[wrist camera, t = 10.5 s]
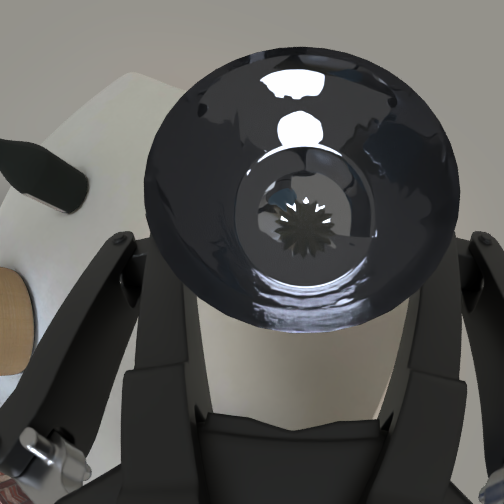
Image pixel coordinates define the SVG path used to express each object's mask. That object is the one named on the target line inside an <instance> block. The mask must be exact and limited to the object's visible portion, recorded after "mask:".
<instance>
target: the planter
mask: <svg viewBox="0 0 504 504" xmlns="http://www.w3.org/2000/svg"><path fill="white" fill-rule="evenodd" d="M33 342H34V317H33V310H32V305H31V300H30V297H29V294H28V291H27V288H26V286H25V284H24V282H23V280H22V278H21V277H20V276H19V275H18V274H17V273H16V272H15V271H13V270H10V269H7V268H3V267H0V376H5V375H14V374H18V373H20V372H22V371H23V370H24V369H25V368H26V366H27V364H28V363H29V360H30V357H31V354H32V349H33Z"/></svg>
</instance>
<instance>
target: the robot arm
mask: <svg viewBox="0 0 504 504" xmlns="http://www.w3.org/2000/svg"><path fill="white" fill-rule="evenodd" d="M145 215H146V218H147V214H145ZM147 222H148V219H147ZM148 225H149V223H148ZM149 229H150V227H149ZM150 232H151V231H150ZM120 282H121V284H120ZM483 286H484V287H483ZM138 316H139V317H138ZM462 316H463V319H464V323H465V327H466V331H467V334H468V338H469V342H470V346H471V352H472V356H473V360H474V366H475V371H476V377H477V383H478V389H479V397H480V404H481V413H482V424H483V439H484V453H485V462H486V469H487V474H488V478H489V479H488V481H487V483H486V485H485V486H484V487H483V488H482V489H481V491H480V492H479V497H478V498H479V501H480V502H481V503H482V504H504V251H503V249H502V248H501V246H500V245H499V243H498V242H497V240H496V239H495V238H494V237H492V236H491V235H490V234H489V233H488V234H487V233H486V232H481V231H475V232H473V234H472V236H471V239H470V241H468V240H464V239H460V238H456V235H455V232H454V233H453V236H452V239H451V243H450V245H449V247H448V249H447V251H446V253H445V254H444V256H443V258H442V260H441V262H440V263H439V265H438V267H437V269H436V270H435V271H434V272H433V273H432V275H431V276H430V277H429V278H428V279H427V280H426V282H425V283H424V284H423V285H422V286H421V287H420V288H419V289H418V291H417V292H415V293H414V294H413V295H411V296H410V297H409V303H408V308H407V314H406V319H405V323H404V328H403V333H402V337H401V341H400V345H399V350H398V353H397V357H396V361H395V365H394V368H393V372H392V376H391V379H390V382H389V386H388V389H387V392H386V395H385V398H384V402H383V404H382V407H381V410H380V413H379V416H378V418H377V419H375V420H358V421H337V422H333V423H329V424H325V425H320V426H316V427H311V428H306V429H301V430H296V431H291V430H286V429H283V428H280V427H276V426H273V425H270V424H267V423H264V422H261V421H257V420H255V419H252V418H249V417H240V416H232V415H224V414H217V413H213V409H212V404H211V398H210V392H209V386H208V379H207V373H206V366H205V359H204V352H203V345H202V338H201V330H200V322H199V314H198V305H197V296H196V295H195V294H194V293H193V292H192V291H191V290H190V289H189V288H188V287H187V286H186V285H185V284H184V283H183V282H182V281H181V280H179V279H178V278H177V276H176V275H175V274H174V272H173V271H172V269H171V268H170V266H169V265H168V264H167V262H166V261H165V259H164V258H163V257H162V255H161V253H160V251H159V249H158V247H157V244H156V242H155V240H154V238H153V235H152V233H150V237H149V238H145V239H140V240H135V237H134V234H133V233H132V232H130V231H125V232H118V233H116V234H114V235H113V236H112V237H110V238H109V239H108V240H107V241H106V242H105V244H104V245H103V246H102V248H101V249H100V250H99V252H98V253H97V254H96V256H95V257H94V258H93V260H92V261H91V262H90V264H89V265H88V267H87V268H86V270H85V271H84V272H83V274H82V275H81V277H80V278H79V280H78V281H77V282H76V284H75V285H74V287H73V288H72V290H71V291H70V293H69V294H68V296H67V298H66V299H65V301H64V302H63V304H62V305H61V307H60V309H59V310H58V312H57V313H56V315H55V317H54V318H53V320H52V322H51V323H50V325H49V327H48V328H47V330H46V332H45V333H44V335H43V337H42V339H41V340H40V342H39V344H38V346H37V348H36V349H35V351H34V353H33V355H32V357H31V359H30V361H29V363H28V364H27V366H26V368H25V370H24V372H23V374H22V376H21V378H20V381H19V383H18V385H17V387H16V389H15V390H14V391H13V393H12V394H11V395H10V396H9V398H8V399H7V400H6V402H5V403H4V404H3V405H2V407H1V408H0V472H2V473H3V474H5V475H7V476H9V477H11V478H13V479H14V480H15V481H16V482H17V484H18V485H19V486H20V487H21V489H22V490H23V491H24V492H25V494H26V495H27V496H28V497H29V498H30V499H31V500H32V502H33V503H34V504H473V503H472V502H471V501H470V500H469V499H468V498H467V497H466V496H465V495H464V494H463V493H462V492H461V491H460V490H459V489H458V488H457V487H456V486H455V485H454V484H453V483H452V482H451V481H450V479H451V475H452V471H453V468H454V464H455V460H456V456H457V451H458V447H459V442H460V437H461V432H462V426H463V420H464V413H465V406H466V398H467V384H466V382H465V381H461V380H459V371H460V357H461V333H462V332H461V331H462ZM137 318H138V328H137V339H136V352H135V366H134V370H128V371H126V372H125V374H124V378H123V387H122V406H121V464H119V465H118V466H116V467H114V468H113V469H111V470H110V471H108V472H106V473H105V474H103V475H101V476H99V477H98V478H96V479H94V480H93V481H91V482H89V483H87V484H85V485H84V486H83V481H86V480H88V479H89V478H90V477H91V473H92V471H91V468H90V466H89V465H88V464H87V463H86V457H87V455H88V454H89V452H90V450H91V447H92V445H93V443H94V441H95V439H96V436H97V433H98V430H99V427H100V424H101V420H102V417H103V414H104V411H105V407H106V404H107V401H108V398H109V395H110V392H111V389H112V386H113V383H114V380H115V377H116V374H117V372H118V369H119V366H120V363H121V360H122V358H123V355H124V352H125V349H126V347H127V344H128V342H129V339H130V336H131V334H132V331H133V329H134V326H135V323H136V321H137Z"/></svg>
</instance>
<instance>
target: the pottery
mask: <svg viewBox="0 0 504 504" xmlns="http://www.w3.org/2000/svg"><path fill="white" fill-rule="evenodd" d="M0 504H34V503H33V502H32V500H31V499H30V498H29V497H28V496H27V495H26V494H25V492H24V491H23V490H22V489H21V487H20V486H19V485H18V484H17V482H16V481H15V480H14V479H13V478H11V477H9V476H7V475H5V474H3V473H2V472H0Z"/></svg>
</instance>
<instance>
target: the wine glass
mask: <svg viewBox="0 0 504 504" xmlns="http://www.w3.org/2000/svg"><path fill="white" fill-rule="evenodd" d="M459 201H460V184H459V175H458V167H457V163H456V160H455V156H454V153H453V150H452V147H451V143H450V141H449V139H448V137H447V135H446V133H445V131H444V129H443V127H442V125H441V124H440V122H439V120H438V119H437V118H436V116H435V114H434V113H433V112H432V111H431V109H430V108H429V106H428V105H427V104H426V103H425V101H424V100H423V99H422V98H421V97H420V96H419V95H418V94H417V93H416V92H415V91H414V90H413V89H412V88H410V87H409V86H408V85H407V84H406V83H404V82H403V81H402V80H400V79H399V78H398V77H396V76H395V75H393V74H392V73H390V72H389V71H387V70H385V69H383V68H382V67H380V66H378V65H376V64H374V63H372V62H370V61H368V60H365V59H362V58H360V57H357V56H354V55H351V54H348V53H344V52H339V51H335V50H330V49H325V48H313V47H288V48H277V49H272V50H267V51H262V52H257V53H254V54H251V55H248V56H245V57H242V58H239V59H236V60H234V61H232V62H230V63H228V64H226V65H224V66H222V67H220V68H218V69H216V70H215V71H213V72H212V73H210V74H208V75H207V76H206V77H204V78H203V79H201V80H200V81H199V82H197V83H196V84H195V85H194V86H193V87H192V88H190V89H189V90H188V91H187V92H186V93H185V94H184V95H183V96H182V97H181V98H180V99H179V100H178V102H177V103H176V104H175V105H174V107H173V108H172V109H171V110H170V112H169V113H168V114H167V116H166V117H165V119H164V121H163V123H162V124H161V126H160V128H159V130H158V132H157V134H156V135H155V138H154V141H153V144H152V146H151V149H150V152H149V155H148V159H147V164H146V171H145V177H144V203H145V209H146V214H147V219H148V223H149V227H150V231H151V233H152V235H153V238H154V240H155V242H156V244H157V247H158V249H159V251H160V253H161V255H162V257H163V258H164V259H165V261H166V262H167V264H168V265H169V266H170V268H171V269H172V271H173V272H174V274H175V275H176V276H177V278H178V279H179V280H181V281H182V282H183V283H184V284H185V285H186V286H187V287H188V288H189V289H190V290H191V291H192V292H193V293H194V294H195V295H196V296H198V297H199V298H200V299H201V300H203V301H205V302H206V303H208V304H209V305H211V306H213V307H214V308H216V309H217V310H219V311H221V312H222V313H224V314H225V315H227V316H230V317H232V318H235V319H238V320H240V321H243V322H245V323H248V324H251V325H253V326H256V327H260V328H265V329H271V330H277V331H283V332H289V333H317V332H330V331H335V330H339V329H344V328H348V327H352V326H356V325H361V324H363V323H365V322H367V321H370V320H372V319H374V318H376V317H378V316H381V315H383V314H385V313H387V312H389V311H391V310H392V309H394V308H395V307H397V306H398V305H399V304H401V303H402V302H403V301H405V300H406V299H407V298H409V297H410V296H411V295H413V294H414V293H415V292H417V291H418V289H419V288H420V287H421V286H422V285H423V284H424V283H425V282H426V280H427V279H428V278H429V277H430V276H431V275H432V273H433V272H434V271H435V270H436V269H437V267H438V265H439V263H440V262H441V260H442V258H443V256H444V254H445V253H446V251H447V249H448V247H449V245H450V243H451V239H452V236H453V233H454V230H455V226H456V223H457V219H458V212H459Z"/></svg>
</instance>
